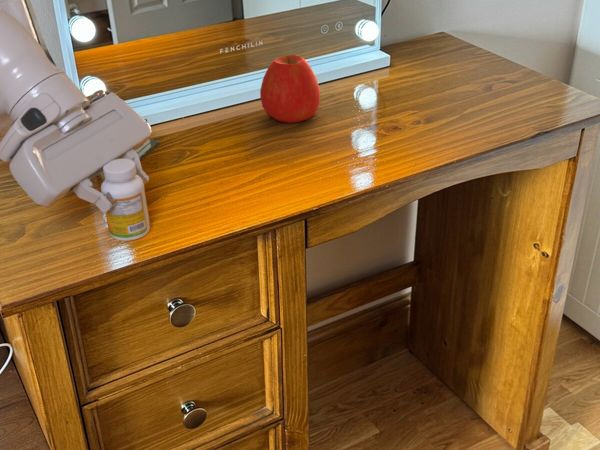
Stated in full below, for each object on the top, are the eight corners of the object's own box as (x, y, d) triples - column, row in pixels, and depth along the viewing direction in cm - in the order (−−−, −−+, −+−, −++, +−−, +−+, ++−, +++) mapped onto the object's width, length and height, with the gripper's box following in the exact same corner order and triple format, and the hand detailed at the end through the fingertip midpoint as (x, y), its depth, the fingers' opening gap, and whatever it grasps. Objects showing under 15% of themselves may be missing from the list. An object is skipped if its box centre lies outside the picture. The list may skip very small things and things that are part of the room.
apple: (280, 100, 138) (277, 43, 133) (331, 109, 134) (330, 51, 129) (251, 121, 131) (246, 62, 125) (304, 131, 126) (302, 70, 121)
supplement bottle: (119, 219, 104) (107, 154, 98) (156, 222, 102) (147, 157, 97) (102, 240, 99) (89, 173, 94) (141, 243, 98) (130, 176, 93)
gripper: (96, 99, 106) (163, 174, 108) (-16, 159, 91) (63, 246, 92) (117, 72, 102) (186, 151, 103) (3, 130, 87) (86, 222, 88)
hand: (127, 196), depth 98 cm, fingers closed on supplement bottle, 5 cm apart
